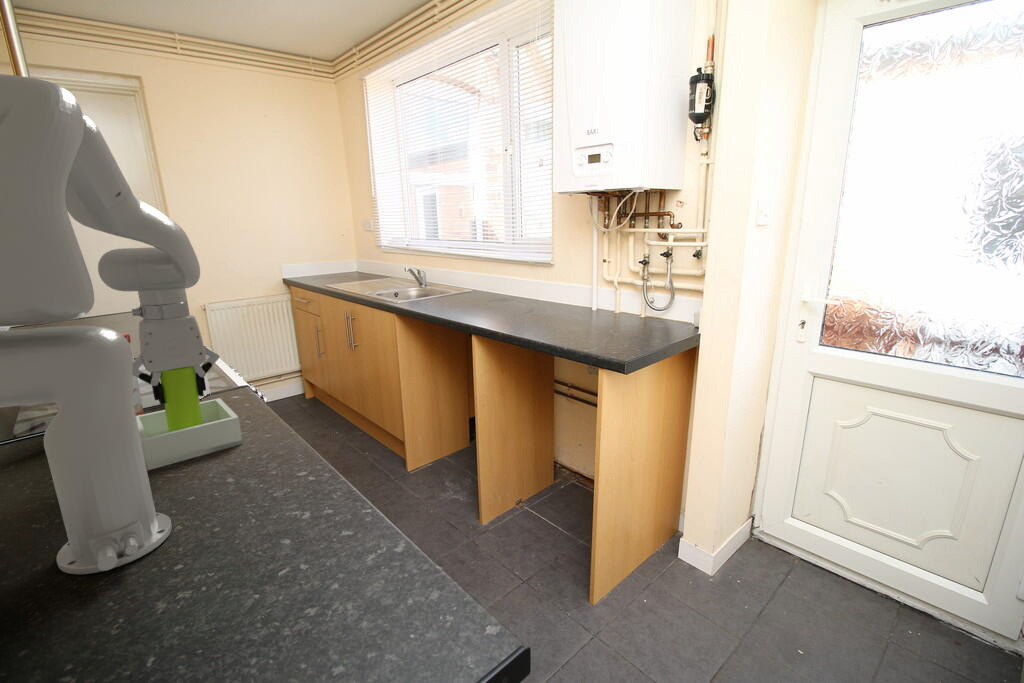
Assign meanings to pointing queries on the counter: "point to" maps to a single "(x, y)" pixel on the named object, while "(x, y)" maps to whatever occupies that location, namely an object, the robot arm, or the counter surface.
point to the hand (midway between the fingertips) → (181, 397)
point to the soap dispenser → (181, 398)
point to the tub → (188, 435)
